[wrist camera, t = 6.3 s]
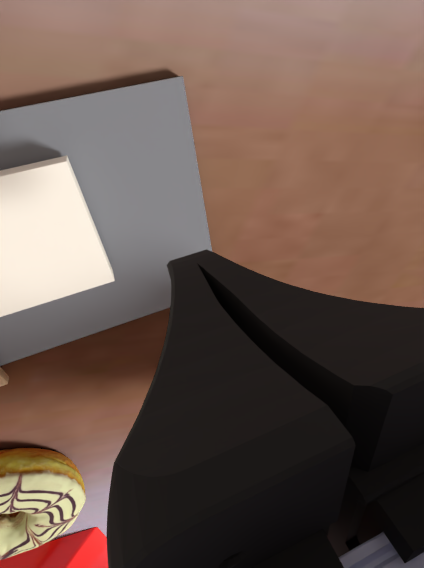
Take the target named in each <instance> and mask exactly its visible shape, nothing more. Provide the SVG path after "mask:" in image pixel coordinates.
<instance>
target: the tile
mask: <svg viewBox="0 0 424 568" xmlns="http://www.w3.org/2000/svg"><path fill="white" fill-rule="evenodd" d="M113 281H115V279H114V274H113V270H112V267H111V265H110V262H109V260H108V257H107V255H106V252H105V250H104V247H103V245H102V242H101V239H100V237H99V234H98V232H97V229H96V227H95V224H94V222H93V219H92V217H91V214H90V212H89V209H88V207H87V204H86V202H85V199H84V197H83V194H82V192H81V189H80V187H79V184H78V182H77V179H76V177H75V174H74V172H73V169H72V167H71V164H70V162H69V159H68V157H67V156H62V157H58V158H53V159H49V160H45V161H40V162H36V163H32V164H27V165H23V166H18V167H14V168H10V169H5V170H1V171H0V317H2V316H5V315H9V314H12V313H15V312H18V311H21V310H24V309H28V308H31V307H34V306H37V305H40V304H43V303H47V302H50V301H53V300H56V299H59V298H62V297H66V296H69V295H72V294H75V293H78V292H81V291H85V290H88V289H91V288H94V287H97V286H100V285H104V284H107V283H110V282H113Z"/></svg>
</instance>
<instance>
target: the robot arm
mask: <svg viewBox="0 0 424 568" xmlns="http://www.w3.org/2000/svg"><path fill="white" fill-rule="evenodd" d="M167 268H168V272H169V275H170V279H171V306H170V315H169V322H168V328H167V333H166V338H165V342H164V346H163V350H162V353H161V356H160V360H159V363H158V367H157V370H156V373H155V375H154V378H153V381H152V383H151V386H150V388H149V391H148V393H147V395H146V398H145V400H144V403H143V405H142V408H141V410H140V412H139V415H138V417H137V419H136V421H135V423H134V425H133V427H132V429H131V431H130V433H129V435H128V437H127V439H126V441H125V443H124V445H123V447H122V449H121V451H120V452H119V454H118V456H117V458H116V460H115V462H114V466H113V472H112V479H111V486H110V493H109V503H108V515H107V555H108V568H424V308H414V307H402V306H394V305H385V304H377V303H370V302H363V301H357V300H351V299H346V298H341V297H336V296H331V295H326V294H322V293H317V292H313V291H310V290H306V289H303V288H299V287H295V286H292V285H289V284H286V283H283V282H280V281H277V280H274V279H272V278H269V277H266V276H264V275H261V274H259V273H256V272H254V271H252V270H249V269H247V268H245V267H243V266H240V265H238V264H236V263H234V262H232V261H230V260H228V259H226V258H224V257H222V256H220V255H218V254H216V253H214V252H212V251H209V250H207V249H206V250H203V251H200V252H197V253H193V254H190V255H187V256H184V257H181V258H177V259H174V260H171V261H169V262H168V264H167Z"/></svg>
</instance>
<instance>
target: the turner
mask: <svg viewBox="0 0 424 568" xmlns="http://www.w3.org/2000/svg"><path fill="white" fill-rule="evenodd" d="M8 381H9V376H8V375H7V374H6V373H5V371H4V370H3V369H2V368H1V367H0V386H3V385H6V384H8Z"/></svg>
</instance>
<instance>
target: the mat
mask: <svg viewBox="0 0 424 568" xmlns="http://www.w3.org/2000/svg"><path fill="white" fill-rule="evenodd" d="M62 156H67V157H68V159H69V162H70V164H71V167H72V169H73V172H74V174H75V177H76V179H77V182H78V184H79V187H80V189H81V192H82V194H83V197H84V199H85V202H86V204H87V207H88V209H89V212H90V214H91V217H92V219H93V222H94V224H95V227H96V229H97V232H98V234H99V237H100V239H101V242H102V245H103V247H104V250H105V252H106V255H107V257H108V260H109V262H110V265H111V267H112V270H113V274H114V279H115V281H113V282H110V283H107V284H104V285H100V286H97V287H94V288H91V289H88V290H85V291H81V292H78V293H75V294H72V295H69V296H66V297H62V298H59V299H56V300H53V301H50V302H47V303H43V304H40V305H37V306H34V307H31V308H28V309H24V310H21V311H18V312H15V313H12V314H9V315H5V316H2V317H0V366H1V365H4V364H7V363H10V362H13V361H16V360H19V359H22V358H25V357H28V356H30V355H33V354H36V353H39V352H42V351H45V350H48V349H51V348H54V347H57V346H59V345H62V344H65V343H68V342H71V341H74V340H77V339H80V338H83V337H86V336H88V335H91V334H94V333H97V332H100V331H103V330H106V329H109V328H112V327H114V326H117V325H120V324H123V323H126V322H129V321H132V320H135V319H138V318H141V317H143V316H146V315H149V314H152V313H155V312H158V311H161V310H164V309H167V308H170V306H171V279H170V275H169V272H168V268H167V264H168V262H169V261H171V260H174V259H177V258H181V257H184V256H187V255H190V254H193V253H197V252H200V251H203V250H206V249H207V250H209V251H212V248H211V242H210V236H209V230H208V224H207V218H206V212H205V206H204V200H203V194H202V188H201V182H200V176H199V170H198V164H197V158H196V152H195V146H194V140H193V134H192V128H191V122H190V116H189V110H188V104H187V98H186V92H185V86H184V80H183V76H178V77H173V78H168V79H163V80H157V81H152V82H147V83H142V84H136V85H131V86H126V87H121V88H116V89H110V90H105V91H100V92H95V93H90V94H84V95H79V96H74V97H69V98H64V99H58V100H53V101H48V102H43V103H37V104H32V105H27V106H22V107H17V108H11V109H6V110H1V111H0V171H1V170H5V169H10V168H14V167H18V166H23V165H27V164H32V163H36V162H40V161H45V160H49V159H53V158H58V157H62Z"/></svg>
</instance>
